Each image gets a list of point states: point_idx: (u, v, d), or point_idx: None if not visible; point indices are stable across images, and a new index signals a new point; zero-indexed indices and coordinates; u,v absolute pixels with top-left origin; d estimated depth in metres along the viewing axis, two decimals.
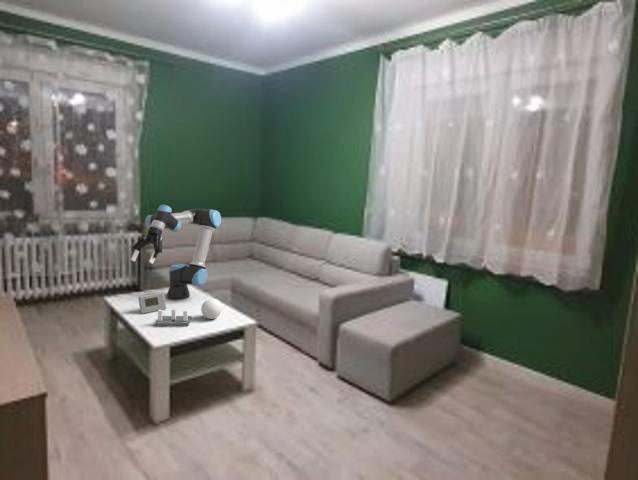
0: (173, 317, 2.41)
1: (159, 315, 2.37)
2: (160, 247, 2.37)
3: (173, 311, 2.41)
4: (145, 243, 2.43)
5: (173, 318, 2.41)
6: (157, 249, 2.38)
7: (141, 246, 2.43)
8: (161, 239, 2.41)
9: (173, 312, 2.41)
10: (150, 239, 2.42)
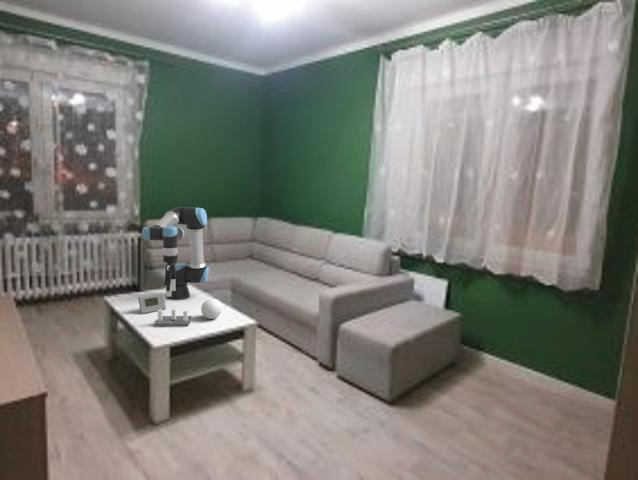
0: (173, 317, 2.41)
1: (159, 315, 2.37)
2: (166, 280, 2.23)
3: (173, 311, 2.41)
4: None
5: (173, 318, 2.41)
6: None
7: (172, 274, 2.36)
8: (168, 269, 2.24)
9: (173, 312, 2.41)
10: None
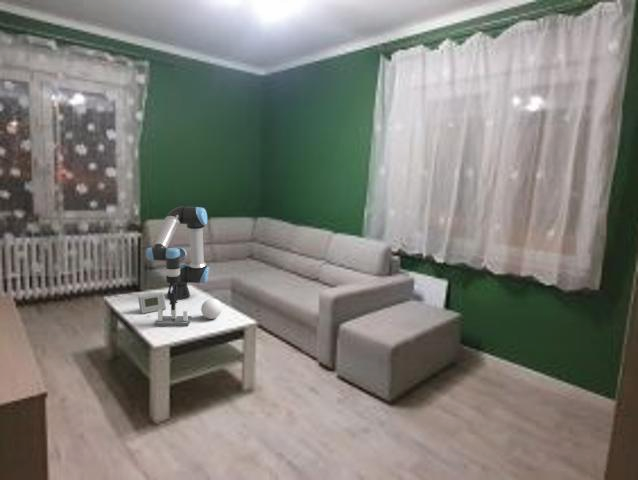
0: (173, 316, 2.43)
1: (159, 315, 2.37)
2: (171, 301, 2.36)
3: None
4: None
5: (173, 317, 2.43)
6: None
7: None
8: (171, 292, 2.34)
9: None
10: None
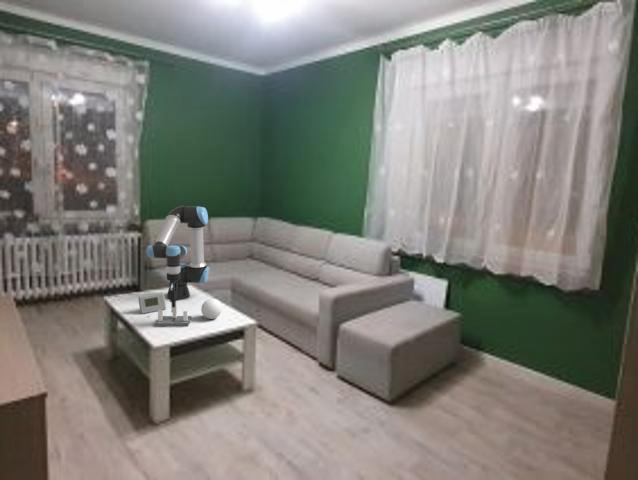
0: (174, 315, 2.44)
1: (159, 315, 2.37)
2: (171, 298, 2.37)
3: None
4: None
5: (174, 316, 2.44)
6: None
7: None
8: (172, 290, 2.35)
9: None
10: None
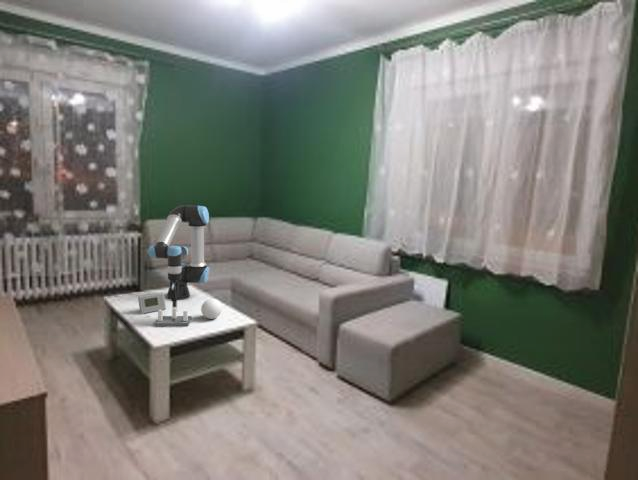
0: (174, 316, 2.43)
1: (159, 315, 2.37)
2: (172, 297, 2.40)
3: (174, 310, 2.42)
4: None
5: (174, 317, 2.43)
6: None
7: None
8: (173, 289, 2.38)
9: (174, 311, 2.42)
10: None
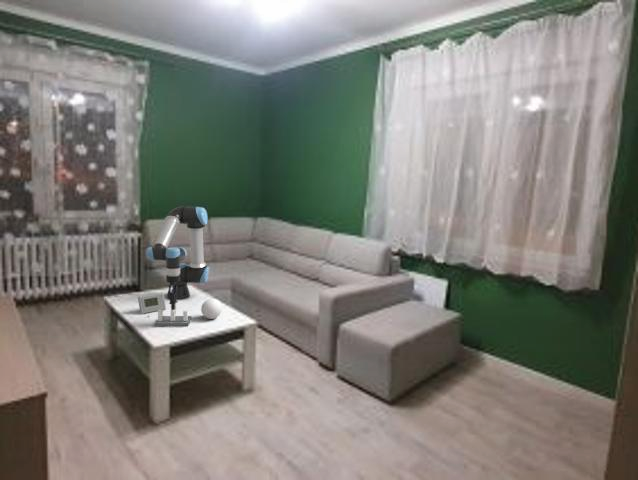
0: (172, 318, 2.39)
1: (159, 315, 2.37)
2: (171, 300, 2.36)
3: (172, 312, 2.38)
4: None
5: (172, 319, 2.39)
6: None
7: None
8: (171, 292, 2.34)
9: (172, 313, 2.38)
10: None
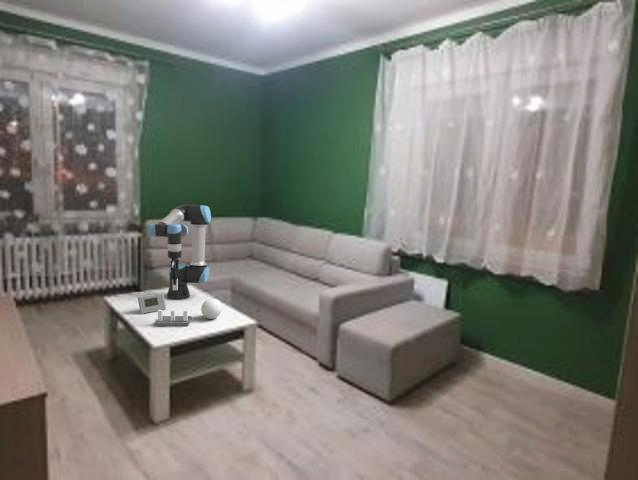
0: (172, 318, 2.39)
1: (159, 315, 2.37)
2: (173, 275, 2.39)
3: (172, 312, 2.38)
4: None
5: (172, 319, 2.39)
6: None
7: None
8: (173, 267, 2.37)
9: (172, 313, 2.38)
10: None
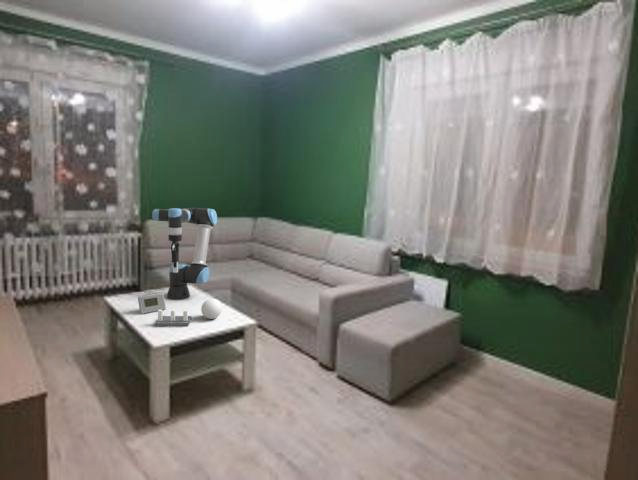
0: (172, 318, 2.39)
1: (159, 315, 2.37)
2: (173, 258, 2.48)
3: (172, 312, 2.38)
4: None
5: (172, 319, 2.39)
6: None
7: None
8: (173, 249, 2.46)
9: (172, 313, 2.38)
10: None
